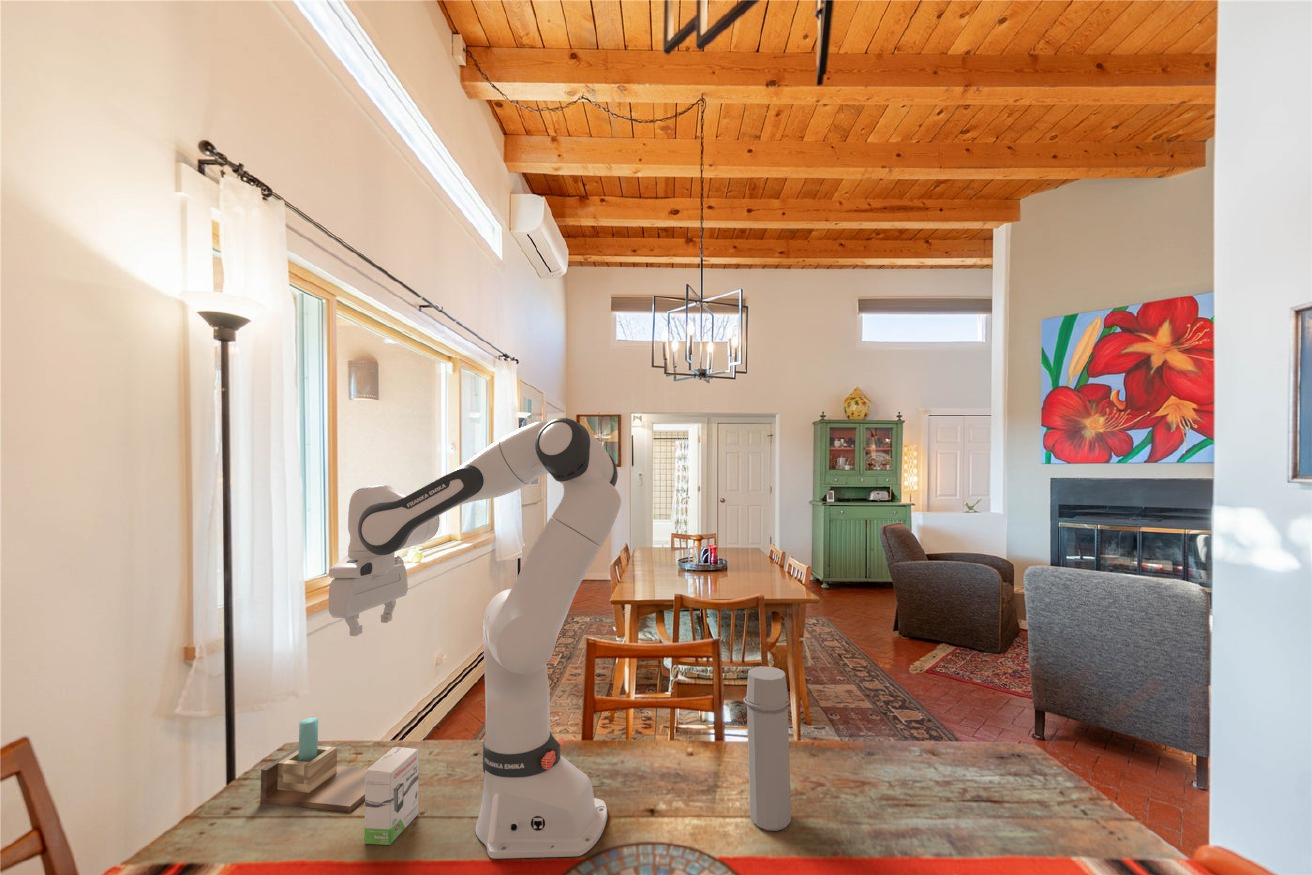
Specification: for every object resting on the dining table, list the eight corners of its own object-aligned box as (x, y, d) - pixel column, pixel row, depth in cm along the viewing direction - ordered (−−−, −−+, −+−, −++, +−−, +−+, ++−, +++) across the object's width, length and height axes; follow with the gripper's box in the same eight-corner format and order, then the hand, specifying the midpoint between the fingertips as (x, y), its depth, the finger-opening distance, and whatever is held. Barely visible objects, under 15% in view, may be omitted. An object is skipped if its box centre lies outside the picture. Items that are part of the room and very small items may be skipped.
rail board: (392, 775, 112) (392, 745, 113) (350, 811, 101) (350, 777, 101) (311, 768, 116) (311, 738, 116) (260, 802, 104) (261, 769, 104)
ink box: (390, 846, 91) (390, 772, 92) (362, 844, 92) (363, 771, 93) (419, 814, 100) (419, 746, 100) (394, 812, 100) (394, 745, 101)
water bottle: (800, 830, 93) (796, 679, 95) (755, 836, 92) (751, 682, 93) (779, 798, 102) (775, 660, 104) (738, 803, 101) (735, 663, 102)
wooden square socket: (336, 772, 112) (337, 747, 112) (309, 792, 105) (309, 765, 105) (306, 769, 113) (306, 744, 114) (277, 789, 106) (277, 762, 107)
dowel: (320, 769, 111) (322, 718, 111) (308, 778, 107) (309, 725, 108) (306, 768, 111) (308, 716, 112) (293, 776, 108) (295, 724, 108)
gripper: (390, 554, 128) (390, 614, 128) (322, 571, 108) (322, 643, 108) (414, 554, 127) (415, 615, 127) (350, 571, 107) (350, 643, 106)
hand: (371, 628), depth 117 cm, fingers open, 8 cm apart
